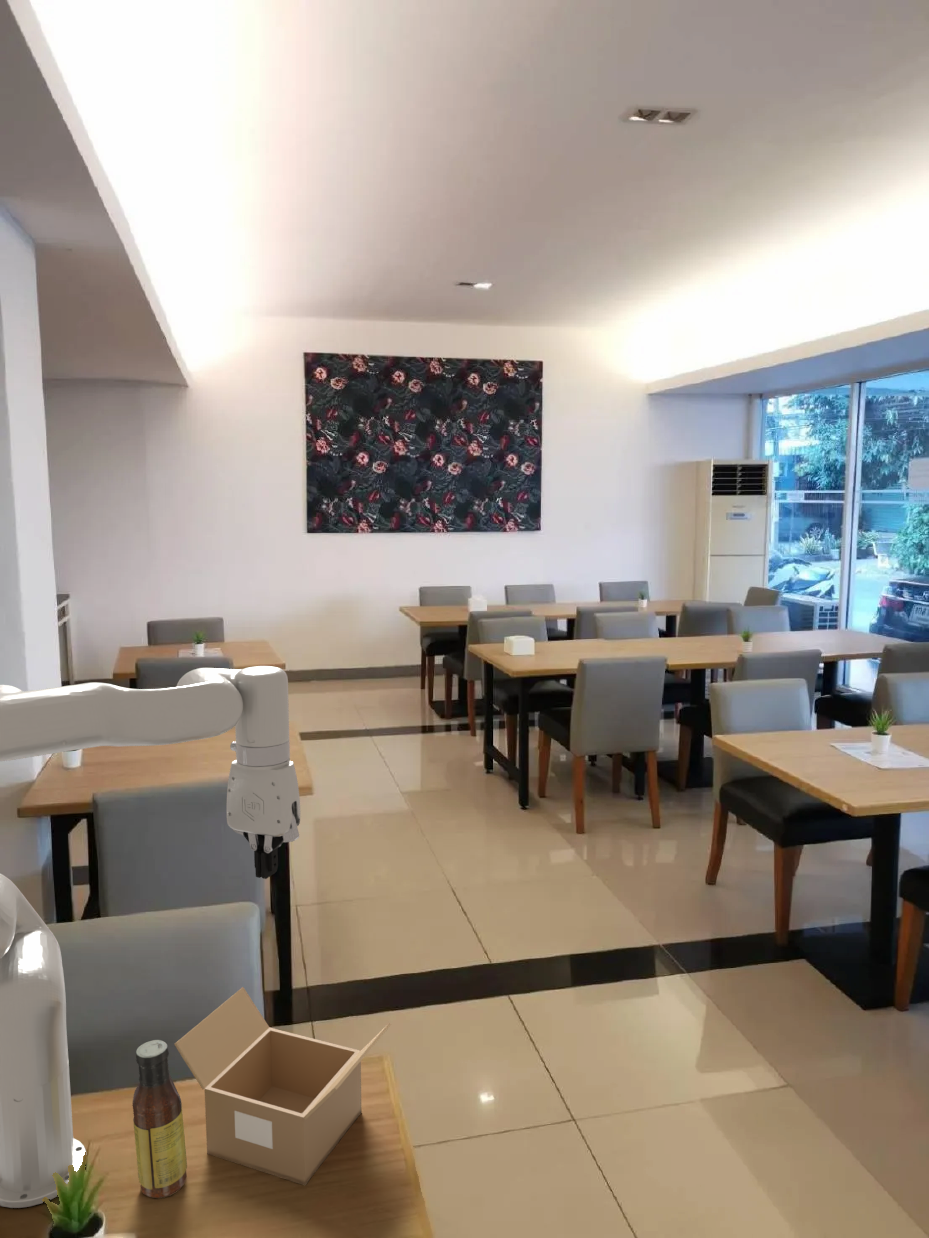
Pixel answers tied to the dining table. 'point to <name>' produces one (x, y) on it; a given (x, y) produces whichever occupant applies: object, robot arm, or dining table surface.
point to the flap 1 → (221, 1037)
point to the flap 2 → (347, 1071)
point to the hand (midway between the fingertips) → (266, 874)
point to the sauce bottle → (158, 1124)
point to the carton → (282, 1105)
